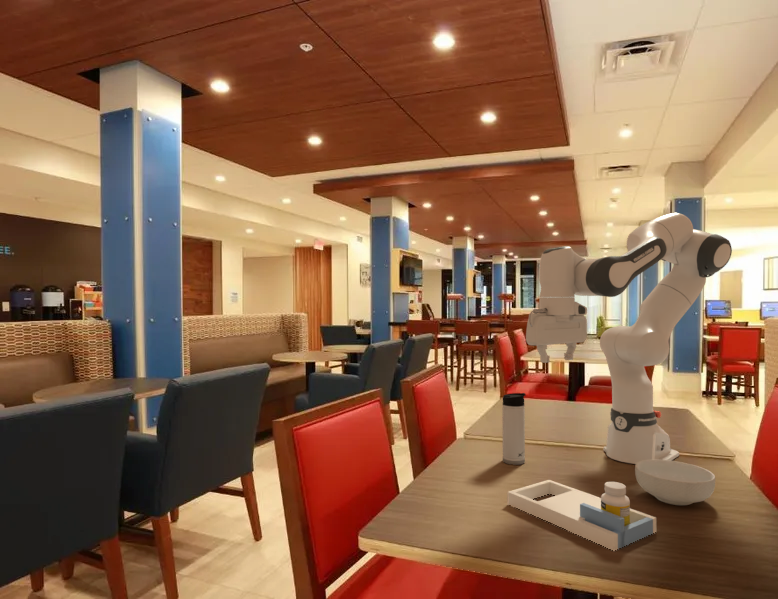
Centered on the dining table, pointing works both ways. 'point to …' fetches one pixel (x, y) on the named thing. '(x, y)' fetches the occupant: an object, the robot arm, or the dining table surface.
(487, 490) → the dining table surface
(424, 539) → the dining table surface
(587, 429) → the dining table surface
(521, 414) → the travel mug
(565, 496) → the pocket rack
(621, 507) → the supplement bottle
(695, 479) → the cereal bowl
